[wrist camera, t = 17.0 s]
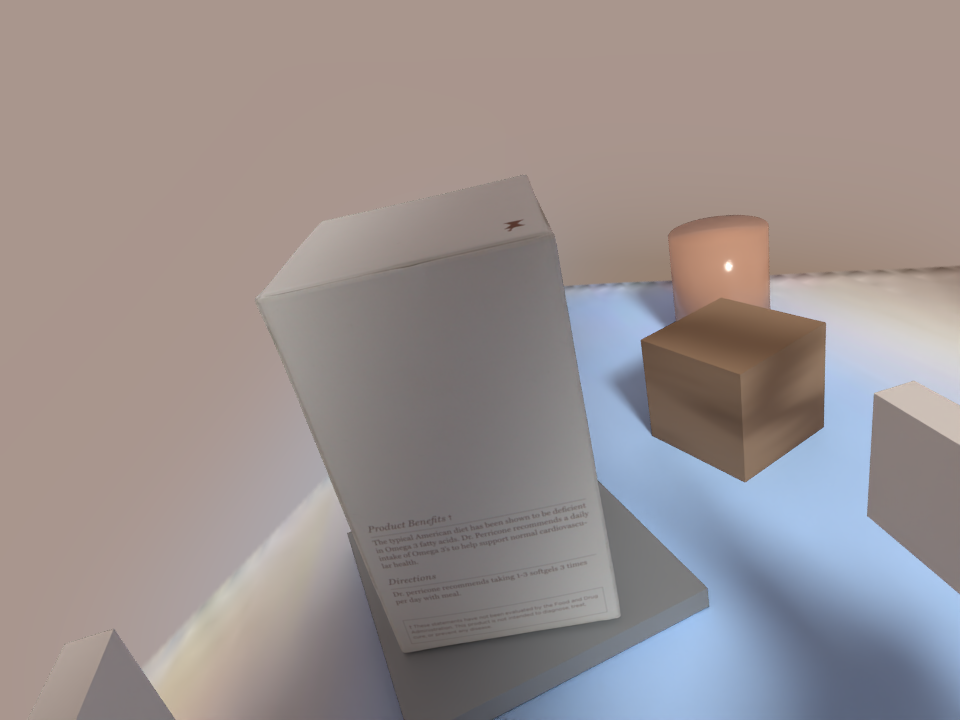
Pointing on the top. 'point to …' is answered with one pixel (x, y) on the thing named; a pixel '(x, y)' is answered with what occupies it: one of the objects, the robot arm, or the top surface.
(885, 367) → the top surface
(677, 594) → the slate tile
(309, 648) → the top surface
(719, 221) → the peach rounded cylinder
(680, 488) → the top surface
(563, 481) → the supplement box
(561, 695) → the top surface
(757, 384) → the walnut block
